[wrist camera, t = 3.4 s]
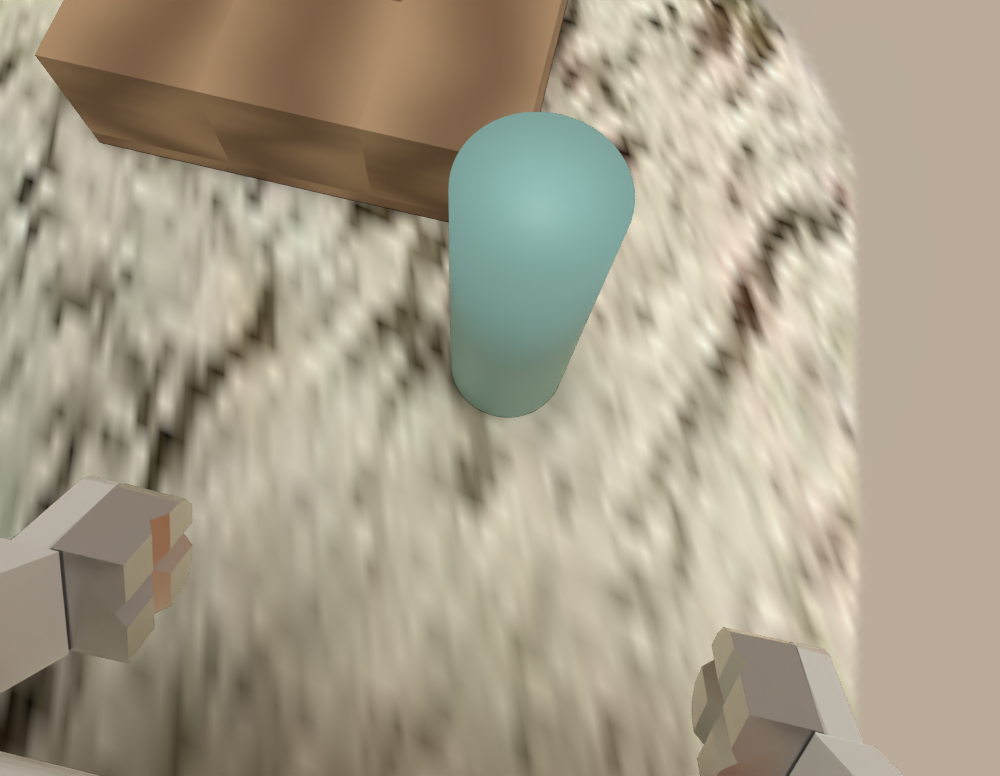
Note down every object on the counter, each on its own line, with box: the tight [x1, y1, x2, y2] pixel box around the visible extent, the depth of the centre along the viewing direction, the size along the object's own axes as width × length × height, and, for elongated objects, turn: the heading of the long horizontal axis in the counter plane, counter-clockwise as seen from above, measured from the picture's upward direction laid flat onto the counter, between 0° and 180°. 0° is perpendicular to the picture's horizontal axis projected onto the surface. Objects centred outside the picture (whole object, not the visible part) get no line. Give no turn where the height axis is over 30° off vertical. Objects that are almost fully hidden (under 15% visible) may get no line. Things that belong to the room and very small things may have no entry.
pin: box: [448, 112, 635, 417], centre depth 21 cm, size 4×4×11 cm
